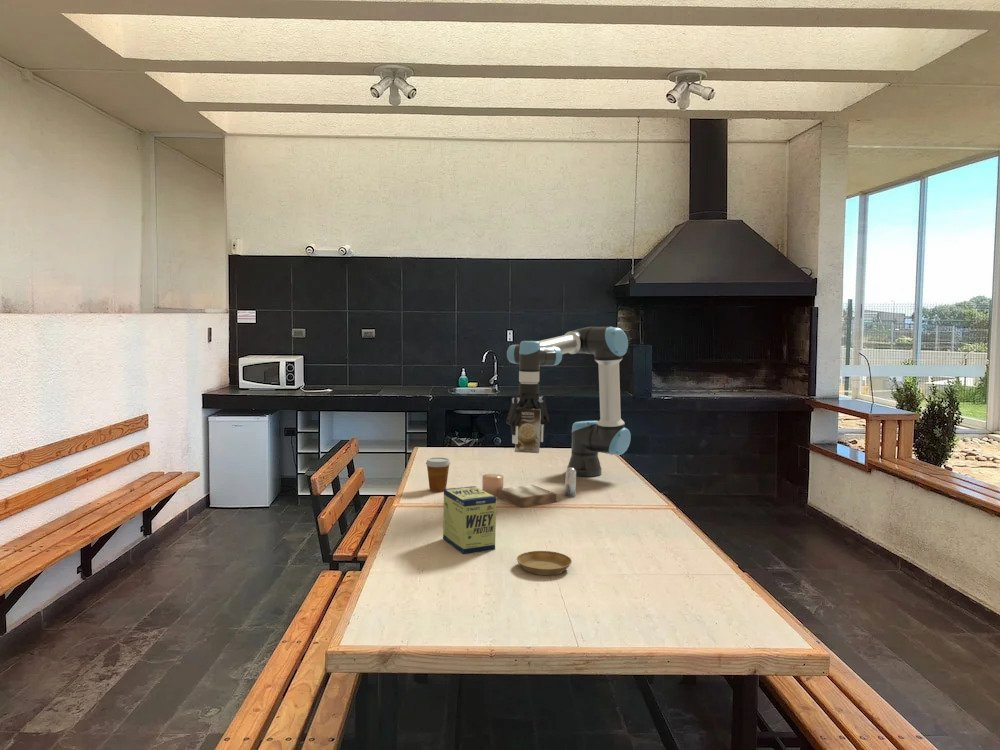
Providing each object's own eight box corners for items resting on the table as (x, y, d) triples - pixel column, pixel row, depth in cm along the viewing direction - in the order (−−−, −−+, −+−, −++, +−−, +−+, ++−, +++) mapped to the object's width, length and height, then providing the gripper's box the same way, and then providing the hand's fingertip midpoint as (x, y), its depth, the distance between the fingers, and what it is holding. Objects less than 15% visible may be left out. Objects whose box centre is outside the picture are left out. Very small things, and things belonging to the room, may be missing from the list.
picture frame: (532, 492, 271) (532, 484, 270) (556, 501, 257) (556, 493, 257) (497, 497, 262) (497, 488, 262) (520, 507, 249) (520, 498, 248)
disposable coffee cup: (421, 491, 269) (421, 460, 268) (432, 486, 278) (432, 456, 277) (443, 494, 265) (443, 462, 265) (454, 488, 274) (454, 458, 273)
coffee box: (514, 452, 256) (515, 409, 254) (515, 449, 262) (516, 406, 261) (539, 453, 255) (540, 409, 253) (540, 450, 261) (541, 407, 260)
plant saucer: (516, 558, 195) (516, 549, 195) (569, 560, 194) (569, 551, 194) (516, 578, 180) (516, 568, 180) (573, 579, 180) (573, 569, 180)
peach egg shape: (496, 490, 273) (496, 473, 272) (507, 495, 266) (507, 477, 265) (478, 492, 268) (478, 475, 268) (488, 497, 262) (489, 479, 261)
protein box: (463, 554, 197) (464, 500, 196) (442, 539, 211) (442, 488, 210) (496, 549, 202) (497, 496, 201) (473, 534, 215) (474, 485, 214)
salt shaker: (571, 494, 269) (572, 466, 268) (577, 496, 266) (578, 467, 265) (562, 495, 267) (563, 466, 266) (569, 497, 264) (569, 468, 263)
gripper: (548, 381, 265) (547, 438, 267) (496, 382, 254) (495, 443, 255) (560, 382, 259) (558, 441, 261) (507, 384, 247) (506, 446, 249)
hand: (527, 442), depth 258 cm, fingers closed on coffee box, 10 cm apart
